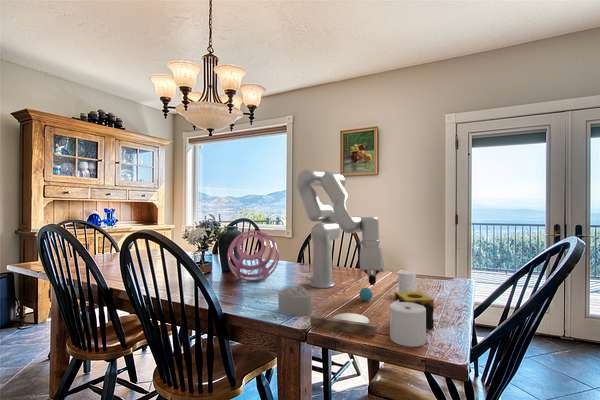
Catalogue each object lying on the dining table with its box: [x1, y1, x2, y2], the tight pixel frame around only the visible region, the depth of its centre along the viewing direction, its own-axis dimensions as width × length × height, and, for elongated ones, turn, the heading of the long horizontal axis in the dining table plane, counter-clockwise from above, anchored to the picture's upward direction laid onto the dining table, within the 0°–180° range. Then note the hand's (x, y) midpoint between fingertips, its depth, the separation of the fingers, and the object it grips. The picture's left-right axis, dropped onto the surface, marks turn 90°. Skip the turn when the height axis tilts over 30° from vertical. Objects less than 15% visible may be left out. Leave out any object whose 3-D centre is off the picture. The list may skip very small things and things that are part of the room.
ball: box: [358, 287, 374, 302], centre depth 141 cm, size 6×6×6 cm
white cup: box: [397, 270, 417, 292], centre depth 151 cm, size 8×8×10 cm
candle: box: [394, 291, 435, 330], centre depth 114 cm, size 10×10×10 cm
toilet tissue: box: [389, 300, 427, 347], centre depth 102 cm, size 11×12×10 cm
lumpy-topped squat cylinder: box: [277, 286, 312, 317], centre depth 128 cm, size 10×13×9 cm
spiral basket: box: [227, 230, 280, 283], centre depth 181 cm, size 28×28×27 cm
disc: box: [332, 312, 370, 324], centre depth 118 cm, size 13×13×1 cm
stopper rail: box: [310, 315, 378, 337], centre depth 109 cm, size 22×2×3 cm, turn 66°
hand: (372, 284), depth 149 cm, fingers closed
